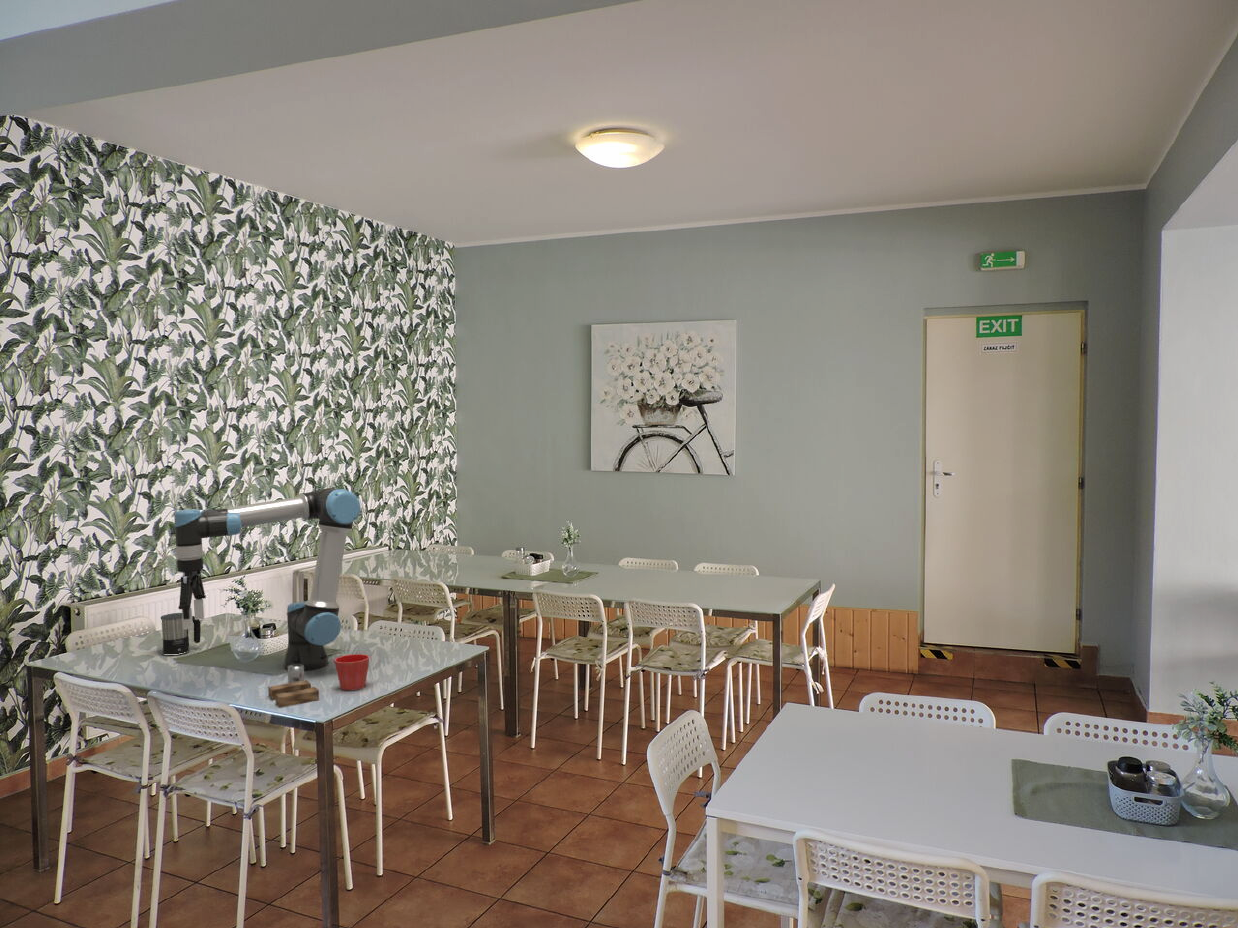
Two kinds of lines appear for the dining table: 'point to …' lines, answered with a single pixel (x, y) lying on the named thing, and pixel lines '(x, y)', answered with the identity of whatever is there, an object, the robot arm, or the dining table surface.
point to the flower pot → (352, 671)
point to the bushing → (295, 673)
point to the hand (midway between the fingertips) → (193, 624)
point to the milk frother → (177, 633)
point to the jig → (293, 693)
